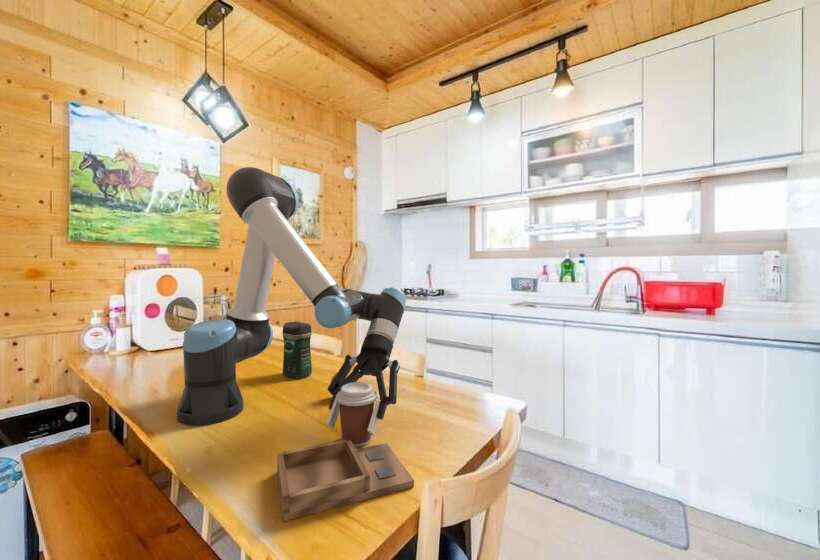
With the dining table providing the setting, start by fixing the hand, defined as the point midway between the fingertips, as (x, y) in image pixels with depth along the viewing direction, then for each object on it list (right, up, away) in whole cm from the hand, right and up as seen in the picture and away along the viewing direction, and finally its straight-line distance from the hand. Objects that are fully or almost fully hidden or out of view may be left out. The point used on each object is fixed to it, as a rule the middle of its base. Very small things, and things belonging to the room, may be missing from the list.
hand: (349, 429), depth 76 cm
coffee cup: (+1, -4, +3) cm, 5 cm away
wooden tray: (+1, -4, -11) cm, 12 cm away
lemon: (-7, -2, +27) cm, 28 cm away
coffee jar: (-26, -1, +47) cm, 54 cm away
